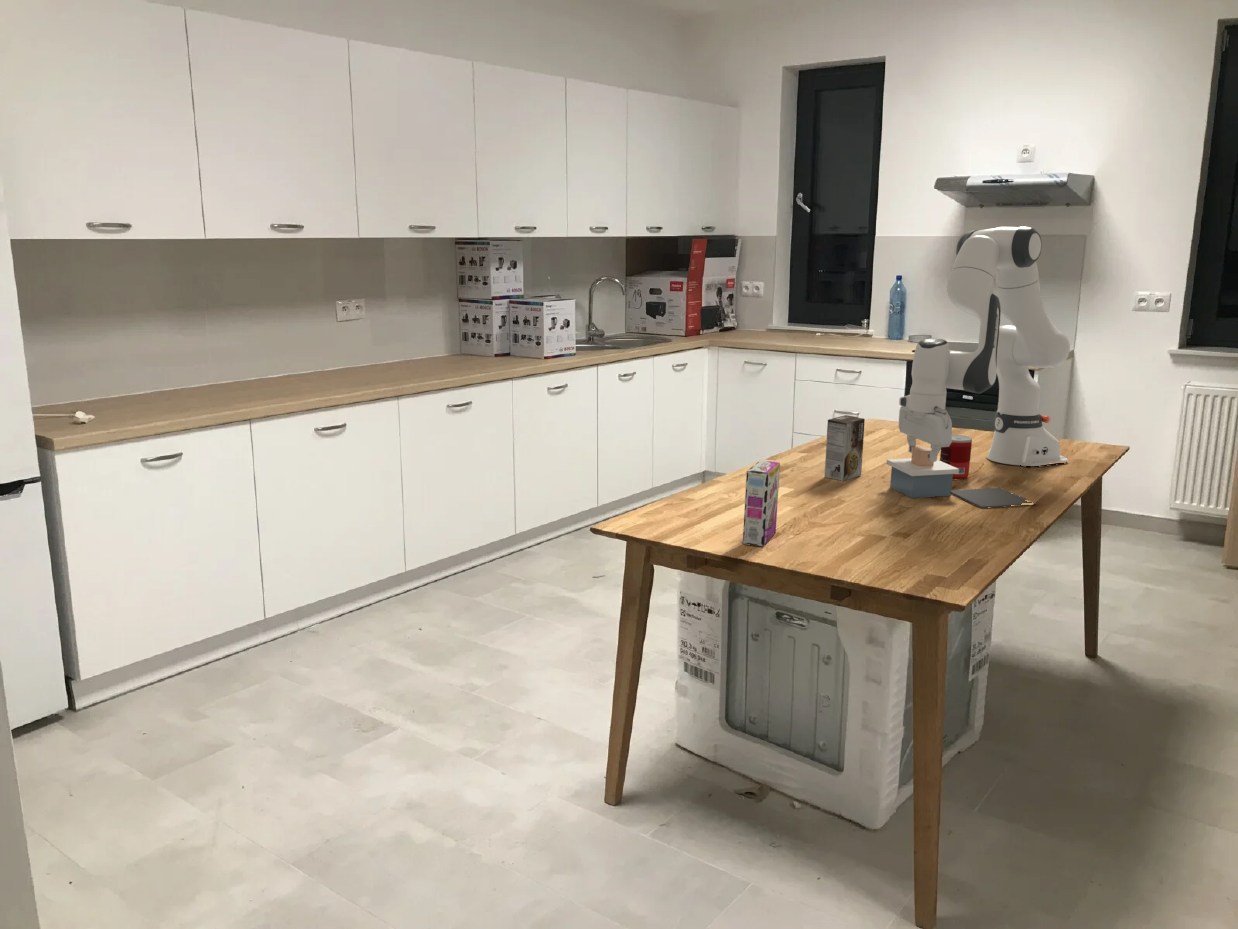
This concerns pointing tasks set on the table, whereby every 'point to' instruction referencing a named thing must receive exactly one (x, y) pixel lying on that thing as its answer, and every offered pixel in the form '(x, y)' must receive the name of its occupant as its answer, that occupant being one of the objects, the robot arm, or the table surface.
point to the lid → (922, 464)
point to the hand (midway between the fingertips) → (922, 456)
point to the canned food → (958, 455)
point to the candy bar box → (761, 502)
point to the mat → (989, 497)
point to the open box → (921, 484)
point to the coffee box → (844, 447)
